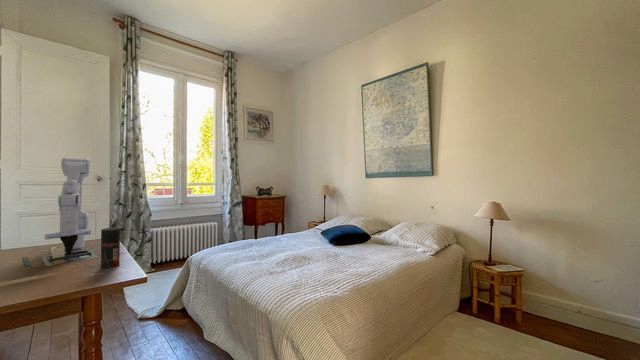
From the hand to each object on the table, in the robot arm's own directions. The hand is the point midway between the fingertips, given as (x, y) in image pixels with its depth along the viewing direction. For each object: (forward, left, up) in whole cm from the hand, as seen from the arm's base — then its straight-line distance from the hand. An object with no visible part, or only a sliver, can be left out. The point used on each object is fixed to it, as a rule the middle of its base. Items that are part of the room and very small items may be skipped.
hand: (68, 253), depth 116 cm
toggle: (0, -3, -1) cm, 4 cm away
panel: (0, 0, -2) cm, 2 cm away
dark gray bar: (-2, -12, -2) cm, 13 cm away
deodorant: (+23, +9, -3) cm, 25 cm away
